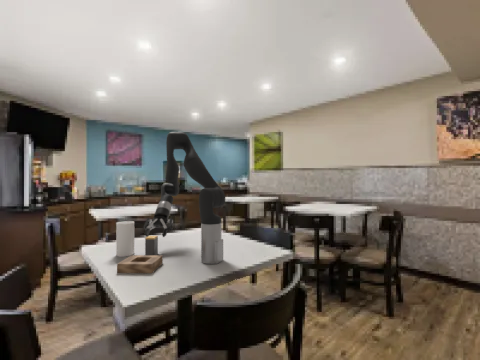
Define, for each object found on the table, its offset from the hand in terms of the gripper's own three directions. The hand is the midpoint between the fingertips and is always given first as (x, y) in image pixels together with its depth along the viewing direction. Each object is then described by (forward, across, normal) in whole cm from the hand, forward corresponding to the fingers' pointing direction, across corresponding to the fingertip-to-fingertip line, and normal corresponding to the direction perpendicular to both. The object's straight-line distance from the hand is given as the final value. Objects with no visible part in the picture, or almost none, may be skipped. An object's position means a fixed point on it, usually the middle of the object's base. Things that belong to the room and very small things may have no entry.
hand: (155, 236), depth 125 cm
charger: (+9, 0, +3) cm, 10 cm away
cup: (+7, -15, +6) cm, 17 cm away
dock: (+21, +2, -8) cm, 23 cm away
